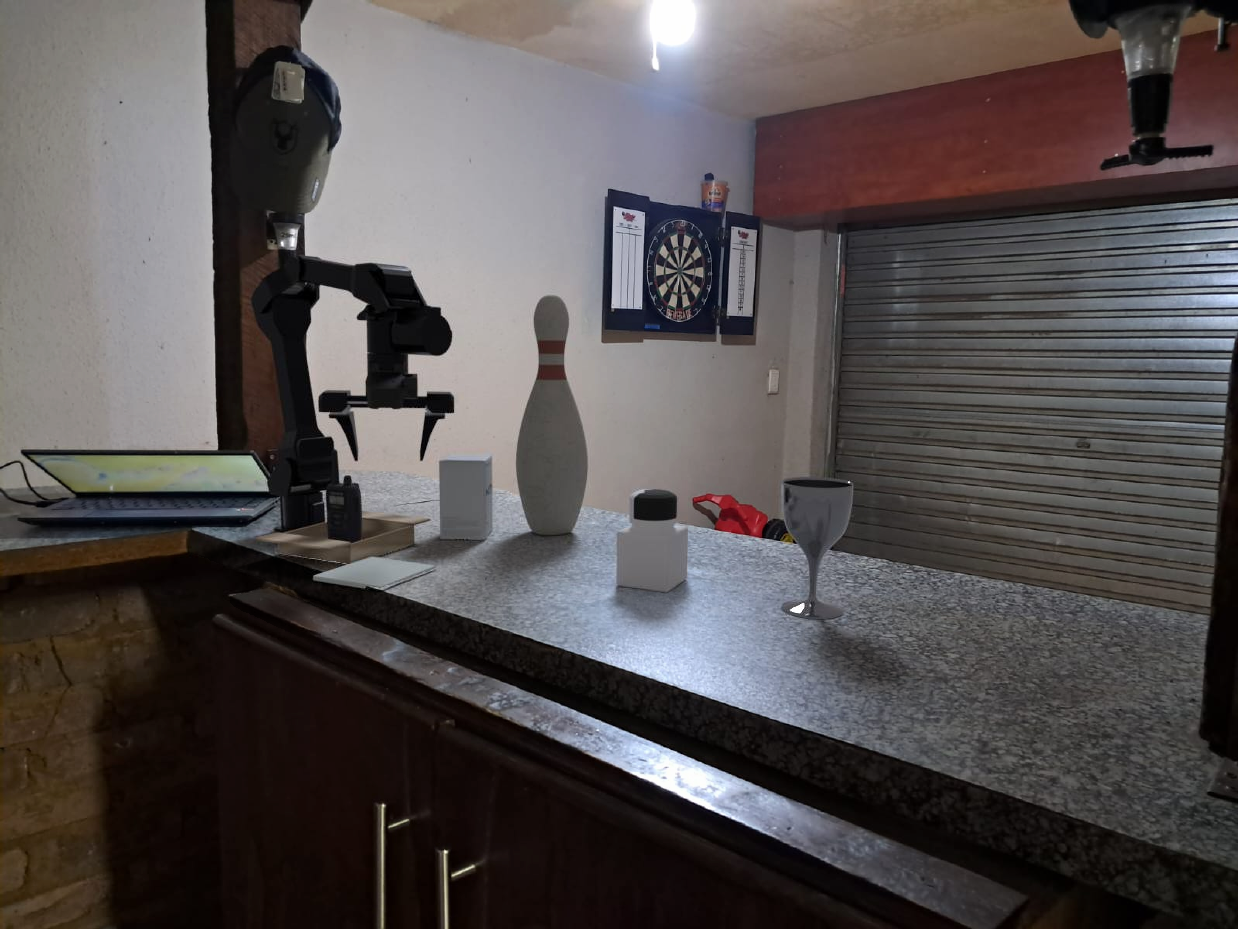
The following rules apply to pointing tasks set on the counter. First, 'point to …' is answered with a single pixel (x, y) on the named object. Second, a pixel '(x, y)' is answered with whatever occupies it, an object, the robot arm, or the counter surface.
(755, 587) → the counter surface
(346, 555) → the carton
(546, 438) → the bowling pin
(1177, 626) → the counter surface
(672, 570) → the medicine bottle
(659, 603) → the counter surface
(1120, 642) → the counter surface
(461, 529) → the supplement box
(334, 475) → the two-way radio
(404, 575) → the mat
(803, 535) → the wine glass
